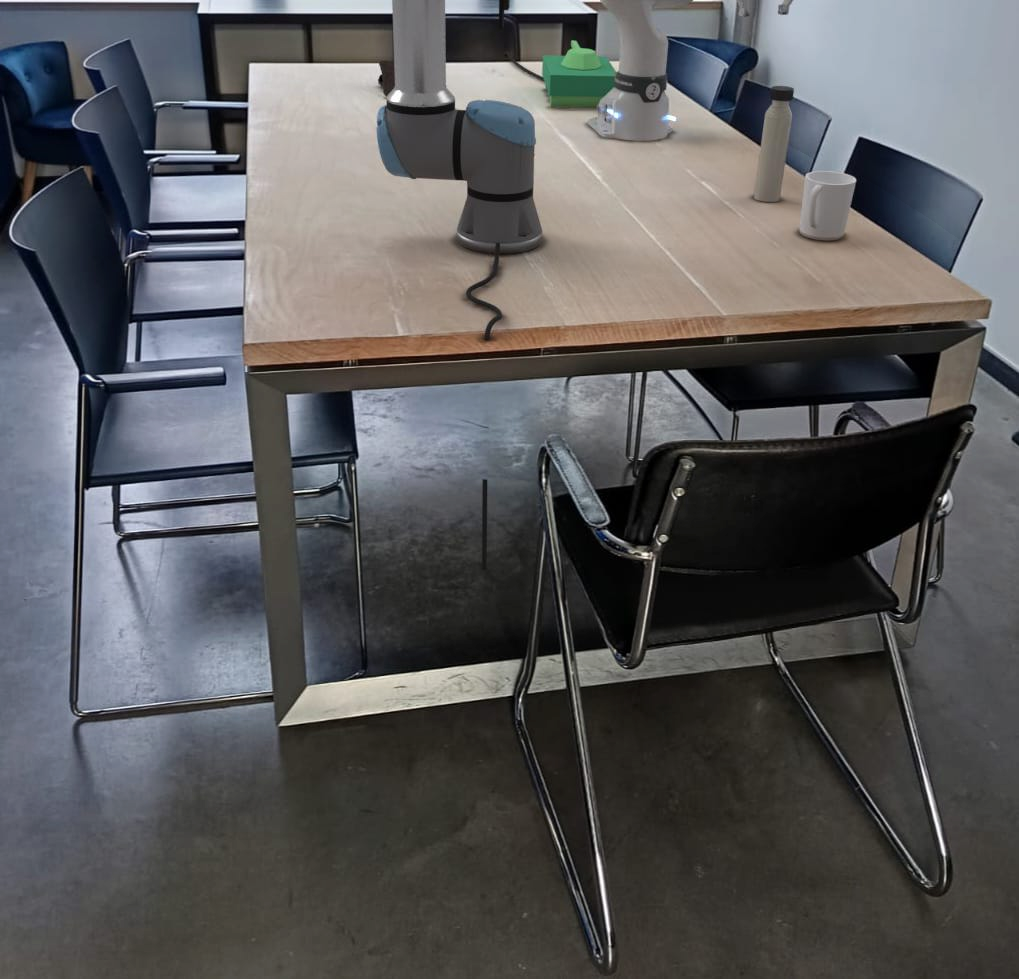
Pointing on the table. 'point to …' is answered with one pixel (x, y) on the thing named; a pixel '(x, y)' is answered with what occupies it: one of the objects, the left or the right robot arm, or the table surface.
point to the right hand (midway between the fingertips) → (763, 15)
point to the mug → (826, 204)
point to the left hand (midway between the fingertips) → (468, 26)
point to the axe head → (387, 76)
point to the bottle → (773, 152)
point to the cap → (781, 93)
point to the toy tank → (577, 77)
